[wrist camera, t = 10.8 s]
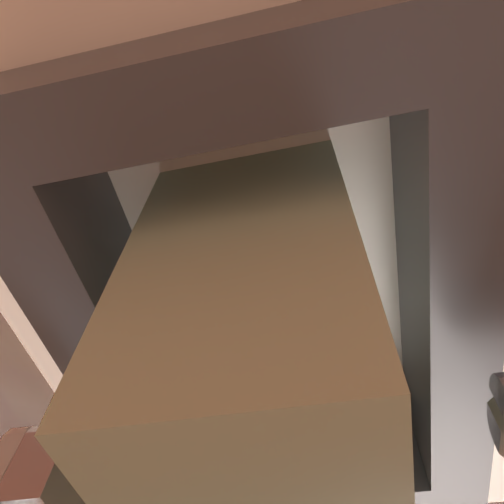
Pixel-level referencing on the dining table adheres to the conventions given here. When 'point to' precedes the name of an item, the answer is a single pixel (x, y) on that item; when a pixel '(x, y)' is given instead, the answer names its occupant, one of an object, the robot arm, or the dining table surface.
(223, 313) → the key block
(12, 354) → the dining table surface
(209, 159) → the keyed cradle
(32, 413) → the dining table surface
